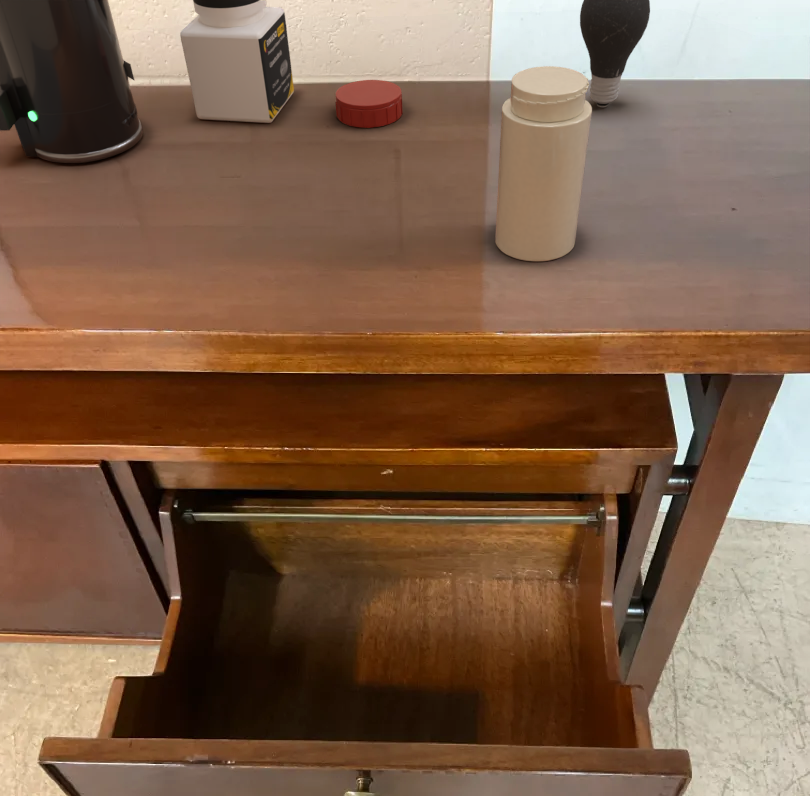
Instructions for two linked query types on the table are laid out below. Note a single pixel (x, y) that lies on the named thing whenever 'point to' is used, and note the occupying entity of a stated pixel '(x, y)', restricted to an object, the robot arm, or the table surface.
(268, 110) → the medicine bottle
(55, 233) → the table surface
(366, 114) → the lid
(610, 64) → the light bulb
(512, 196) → the jar
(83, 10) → the robot arm
